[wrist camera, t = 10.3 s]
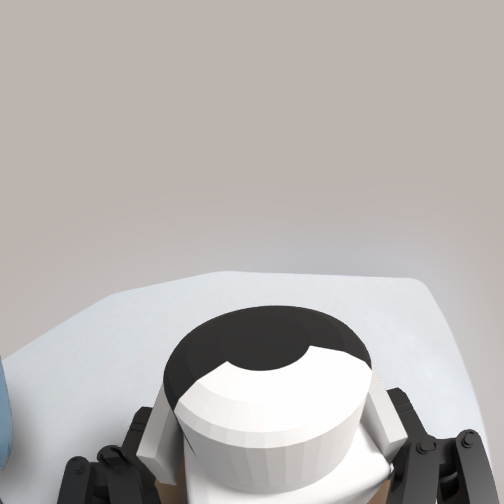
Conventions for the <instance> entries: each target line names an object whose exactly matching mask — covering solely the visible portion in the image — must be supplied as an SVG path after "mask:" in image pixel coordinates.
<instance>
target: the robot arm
mask: <svg viewBox="0 0 504 504" xmlns="http://www.w3.org/2000/svg"><path fill="white" fill-rule="evenodd" d="M371 365H372V375H371V382H370V386H369V390H368V394H367V397H366V401H365V404H364V408H363V411H362V415H361V418H360V422H361V424H362V425H363V427H364V428H365V430H366V431H367V433H368V434H369V436H370V437H371V439H372V440H373V442H374V443H375V445H376V446H377V448H378V449H379V451H380V452H381V454H382V455H383V457H384V458H385V460H386V461H387V463H388V464H389V466H390V465H391V463H392V464H393V467H394V470H393V471H392V472H391V474H390V475H389V477H388V479H387V480H390V479H391V481H390V486H389V491H388V495H387V500H386V504H436V498H437V504H499V500H498V495H497V491H496V486H495V482H494V478H493V475H492V471H491V468H490V464H489V461H488V458H487V455H486V452H485V449H484V446H483V443H482V440H481V437H480V436H479V434H478V433H477V432H476V431H474V430H471V429H468V430H464V431H462V432H460V433H459V435H458V436H457V437H455V438H448V439H436V438H435V437H433V436H431V435H428V434H427V432H426V431H425V429H424V427H423V425H422V423H421V421H420V419H419V417H418V415H417V414H416V412H415V410H414V409H413V406H412V404H411V403H410V400H409V399H408V397H407V395H406V393H404V392H403V391H402V390H401V389H399V388H398V387H397V388H394V389H390V390H386V389H385V387H384V385H383V383H382V381H381V379H380V377H379V375H378V373H377V371H376V369H375V367H374V366H373V364H372V362H371ZM12 442H13V426H12V415H11V408H10V401H9V396H8V390H7V385H6V380H5V375H4V370H3V366H2V361H1V357H0V471H1V470H2V469H3V468H4V466H5V464H6V462H7V458H8V457H9V456H10V452H11V448H12ZM183 453H184V436H183V432H182V430H181V428H180V426H179V424H178V422H177V420H176V418H175V416H174V414H173V412H172V410H171V408H170V405H169V403H168V401H167V398H166V395H165V392H164V385H163V383H162V386H161V388H160V391H159V393H158V396H157V399H156V401H155V404H154V407H153V408H151V407H143V406H142V407H141V408H140V409H139V410H138V411H137V412H136V413H135V415H134V418H133V420H132V423H131V425H130V427H129V430H128V432H127V435H126V437H125V440H124V442H123V445H122V447H118V446H116V445H109V446H105V447H103V448H102V449H101V450H100V451H99V452H98V454H97V460H98V461H99V462H89V461H88V460H87V459H86V458H84V457H81V456H76V457H73V458H71V459H70V460H69V461H68V462H67V464H66V468H65V472H64V475H63V479H62V483H61V488H60V492H59V497H58V501H57V504H161V501H160V497H159V494H158V490H157V488H156V486H155V481H156V479H157V480H158V481H159V482H160V483H165V484H171V485H177V481H178V477H179V472H180V467H181V463H182V458H183ZM0 504H2V502H1V500H0Z"/></svg>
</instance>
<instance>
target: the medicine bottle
mask: <svg viewBox="0 0 504 504" xmlns="http://www.w3.org/2000/svg"><path fill="white" fill-rule="evenodd" d="M371 375H372V365H371V359H370V356H369V353H368V351H367V349H366V347H365V345H364V343H363V342H362V341H361V340H360V338H359V337H358V336H357V335H356V334H355V333H354V332H353V331H352V330H351V329H350V328H349V327H348V326H347V325H346V324H344V323H343V322H341V321H340V320H338V319H336V318H334V317H332V316H330V315H327V314H325V313H322V312H319V311H316V310H312V309H307V308H302V307H295V306H259V307H251V308H246V309H241V310H237V311H233V312H229V313H226V314H223V315H220V316H218V317H215V318H213V319H211V320H209V321H207V322H205V323H203V324H201V325H199V326H198V327H196V328H195V329H193V330H192V331H191V332H190V333H188V334H187V335H186V336H185V337H184V338H183V339H182V340H181V341H180V342H179V344H178V345H177V346H176V348H175V349H174V351H173V353H172V354H171V356H170V358H169V360H168V362H167V364H166V367H165V370H164V377H163V385H164V392H165V395H166V398H167V401H168V403H169V405H170V408H171V410H172V412H173V414H174V416H175V418H176V420H177V422H178V424H179V426H180V428H181V430H182V432H183V436H184V458H185V474H186V487H187V498H188V504H367V502H368V501H369V500H370V499H371V498H372V497H373V496H374V494H375V493H376V492H377V491H378V490H379V488H380V487H381V486H382V485H383V483H384V482H385V481H386V479H387V478H388V477H389V475H390V473H391V468H390V466H389V464H388V463H387V461H386V460H385V458H384V457H383V455H382V454H381V452H380V451H379V449H378V448H377V446H376V445H375V443H374V442H373V440H372V439H371V437H370V436H369V434H368V433H367V431H366V430H365V428H364V427H363V425H362V424H361V422H360V418H361V415H362V411H363V408H364V404H365V401H366V397H367V394H368V390H369V386H370V382H371Z"/></svg>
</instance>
